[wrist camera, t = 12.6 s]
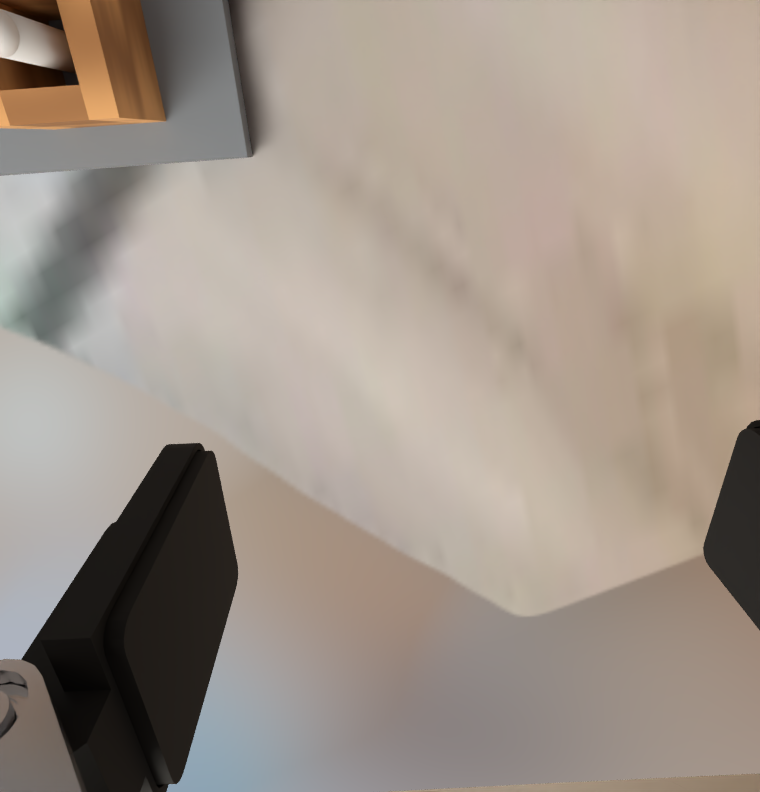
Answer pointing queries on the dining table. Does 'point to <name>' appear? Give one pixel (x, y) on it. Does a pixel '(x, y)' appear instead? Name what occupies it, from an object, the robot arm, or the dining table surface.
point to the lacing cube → (84, 69)
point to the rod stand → (178, 83)
